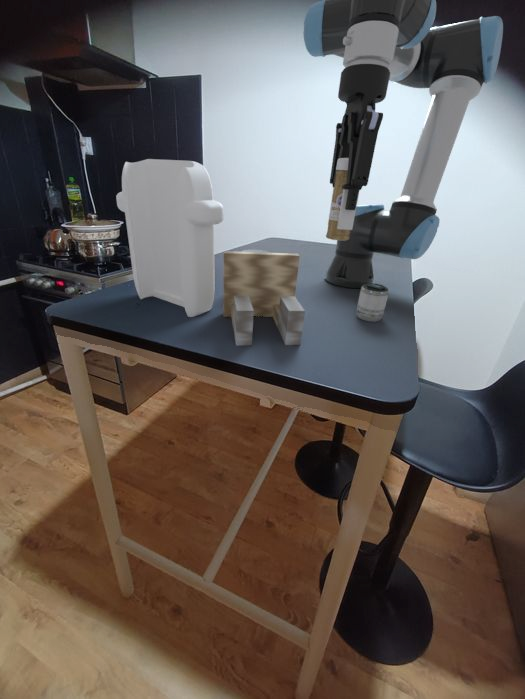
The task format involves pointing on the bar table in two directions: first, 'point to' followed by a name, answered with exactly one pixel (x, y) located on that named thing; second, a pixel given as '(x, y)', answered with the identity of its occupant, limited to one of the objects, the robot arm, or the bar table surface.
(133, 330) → the bar table surface
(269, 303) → the headboard stand
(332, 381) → the bar table surface
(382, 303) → the camera lens
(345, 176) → the sprinkles bottle
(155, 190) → the white contoured slab
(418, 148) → the robot arm
